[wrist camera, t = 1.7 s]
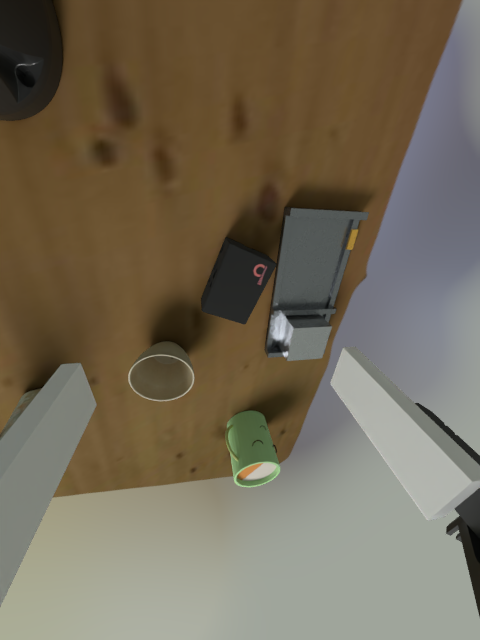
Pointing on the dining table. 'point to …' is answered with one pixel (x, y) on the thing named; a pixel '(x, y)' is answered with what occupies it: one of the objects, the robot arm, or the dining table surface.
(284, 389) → the dining table surface
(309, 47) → the dining table surface
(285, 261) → the dark gray tray
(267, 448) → the mug
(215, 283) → the electronic device
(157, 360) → the flower pot
